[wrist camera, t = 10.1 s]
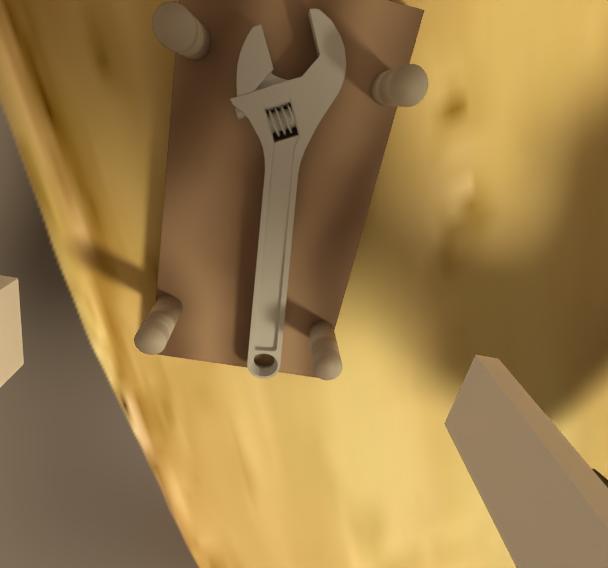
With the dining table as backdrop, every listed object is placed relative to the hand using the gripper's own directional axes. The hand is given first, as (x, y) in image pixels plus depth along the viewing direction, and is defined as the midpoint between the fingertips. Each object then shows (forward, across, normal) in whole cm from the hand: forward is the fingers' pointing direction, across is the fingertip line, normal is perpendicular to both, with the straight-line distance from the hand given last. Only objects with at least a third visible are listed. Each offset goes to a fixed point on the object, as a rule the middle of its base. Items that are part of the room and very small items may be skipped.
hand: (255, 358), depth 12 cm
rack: (+20, 0, 0) cm, 20 cm away
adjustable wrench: (+18, 0, 0) cm, 18 cm away
